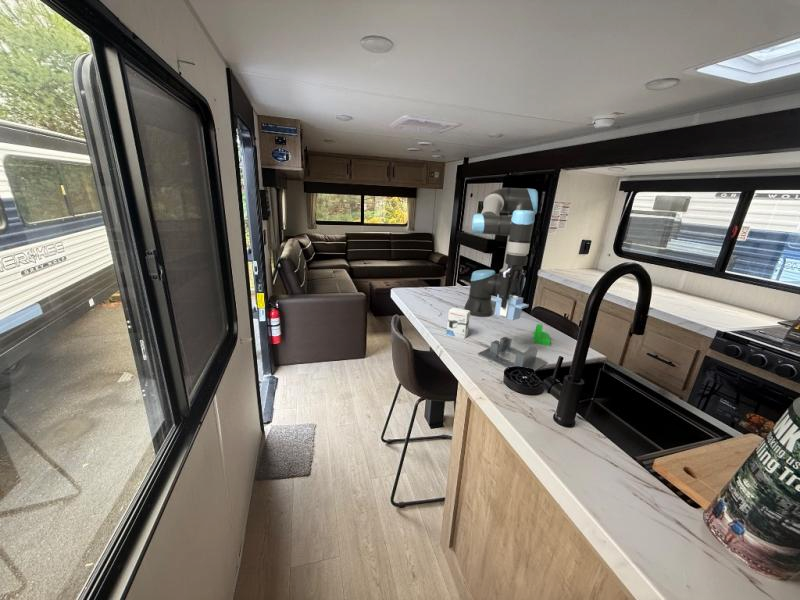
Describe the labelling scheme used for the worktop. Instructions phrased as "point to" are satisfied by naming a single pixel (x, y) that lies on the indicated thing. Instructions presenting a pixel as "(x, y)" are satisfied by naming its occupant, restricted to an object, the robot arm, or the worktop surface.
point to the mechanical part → (541, 336)
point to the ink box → (458, 322)
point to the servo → (510, 306)
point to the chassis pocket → (512, 355)
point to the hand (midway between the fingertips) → (507, 314)
